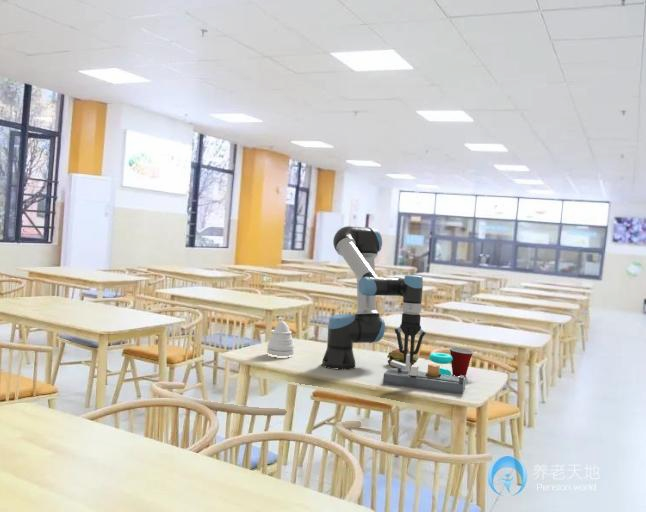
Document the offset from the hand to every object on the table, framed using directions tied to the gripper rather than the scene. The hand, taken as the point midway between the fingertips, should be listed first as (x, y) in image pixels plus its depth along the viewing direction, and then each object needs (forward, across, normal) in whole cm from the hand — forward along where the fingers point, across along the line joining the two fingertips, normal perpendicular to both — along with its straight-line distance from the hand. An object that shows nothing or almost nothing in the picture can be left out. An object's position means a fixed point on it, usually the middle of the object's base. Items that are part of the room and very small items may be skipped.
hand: (407, 370), depth 246 cm
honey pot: (+6, -66, +23) cm, 70 cm away
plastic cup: (+6, +18, +31) cm, 37 cm away
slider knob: (+2, +3, 0) cm, 3 cm away
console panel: (+6, +7, +4) cm, 10 cm away
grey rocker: (0, -4, +7) cm, 8 cm away
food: (+6, -9, +35) cm, 36 cm away
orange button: (+3, +10, +7) cm, 12 cm away
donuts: (+6, +10, +23) cm, 26 cm away
